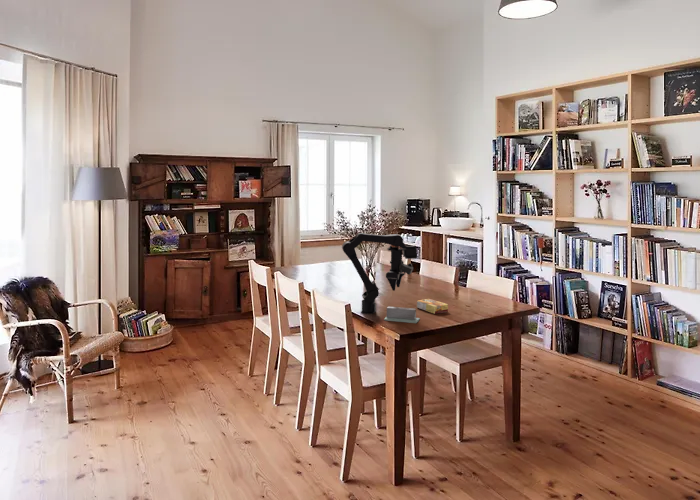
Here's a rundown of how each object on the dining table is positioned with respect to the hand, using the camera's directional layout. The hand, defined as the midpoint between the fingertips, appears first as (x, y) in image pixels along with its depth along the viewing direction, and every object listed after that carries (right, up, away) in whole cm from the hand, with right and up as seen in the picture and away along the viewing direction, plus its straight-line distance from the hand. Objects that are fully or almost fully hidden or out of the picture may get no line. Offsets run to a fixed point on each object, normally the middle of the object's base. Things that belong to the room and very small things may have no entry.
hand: (396, 288), depth 279 cm
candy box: (+23, -10, -2) cm, 25 cm away
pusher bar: (+1, -13, -15) cm, 20 cm away
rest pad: (+2, -14, -15) cm, 20 cm away
